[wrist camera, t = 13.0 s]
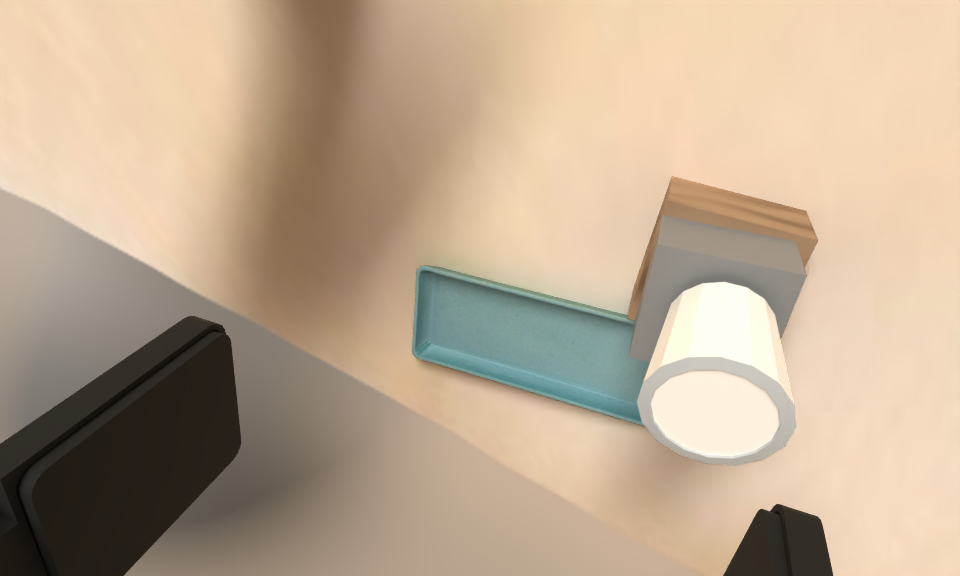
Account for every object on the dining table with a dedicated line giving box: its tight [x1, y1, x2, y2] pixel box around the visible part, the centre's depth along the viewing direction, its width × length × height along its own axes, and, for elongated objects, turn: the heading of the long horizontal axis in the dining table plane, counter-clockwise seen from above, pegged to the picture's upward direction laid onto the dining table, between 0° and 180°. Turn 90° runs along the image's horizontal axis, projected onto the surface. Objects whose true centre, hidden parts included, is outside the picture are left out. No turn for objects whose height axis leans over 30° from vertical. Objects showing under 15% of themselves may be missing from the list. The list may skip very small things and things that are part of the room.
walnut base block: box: [627, 176, 818, 320], centre depth 39 cm, size 8×8×5 cm
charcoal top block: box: [628, 215, 807, 362], centre depth 35 cm, size 8×8×4 cm
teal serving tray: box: [412, 266, 650, 427], centre depth 47 cm, size 26×9×2 cm, turn 83°
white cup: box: [637, 282, 796, 466], centre depth 30 cm, size 7×7×7 cm
